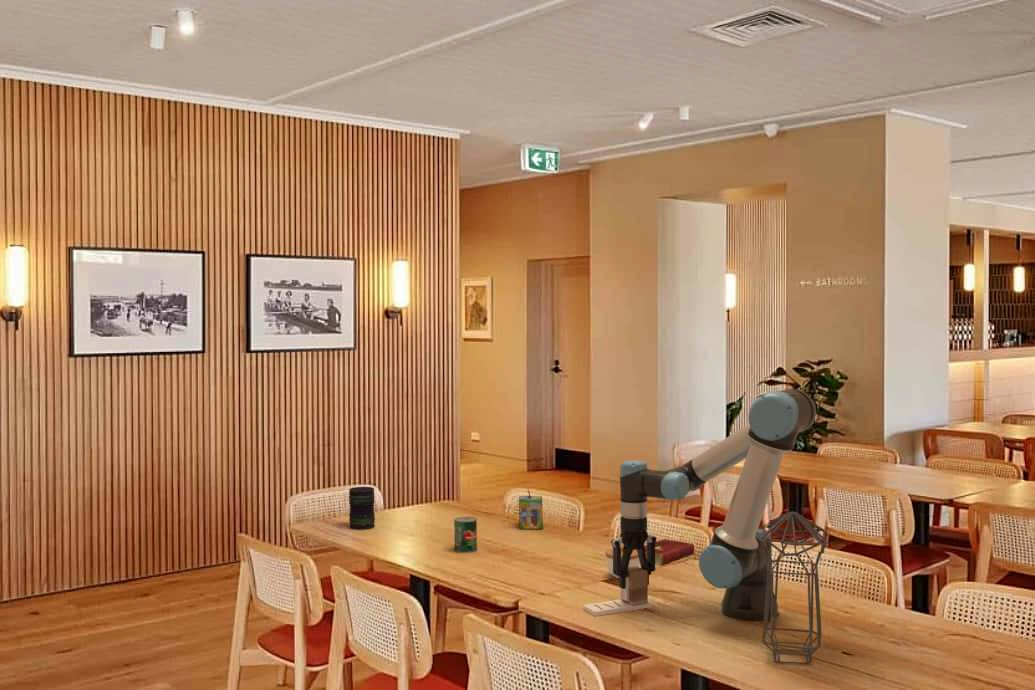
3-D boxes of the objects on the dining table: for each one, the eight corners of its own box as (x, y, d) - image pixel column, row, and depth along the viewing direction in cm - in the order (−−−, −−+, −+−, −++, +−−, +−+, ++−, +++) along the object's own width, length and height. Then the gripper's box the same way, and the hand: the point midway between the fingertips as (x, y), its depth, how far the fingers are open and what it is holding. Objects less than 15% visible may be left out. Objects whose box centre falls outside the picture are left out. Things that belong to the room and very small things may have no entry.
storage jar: (353, 524, 391) (353, 486, 391) (378, 524, 390) (377, 486, 390) (346, 529, 382) (345, 491, 381) (370, 530, 380) (370, 491, 380)
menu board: (651, 607, 277) (651, 603, 277) (594, 616, 270) (594, 611, 270) (638, 601, 283) (638, 596, 283) (583, 609, 276) (583, 604, 276)
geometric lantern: (760, 644, 246) (760, 504, 244) (827, 650, 241) (827, 507, 240) (756, 666, 231) (756, 516, 229) (827, 672, 226) (827, 520, 225)
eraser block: (647, 603, 277) (647, 571, 277) (632, 605, 275) (632, 573, 275) (636, 597, 282) (636, 566, 282) (621, 599, 280) (621, 568, 280)
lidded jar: (638, 582, 304) (638, 551, 303) (603, 580, 306) (603, 550, 305) (641, 573, 314) (641, 543, 314) (607, 571, 316) (607, 542, 316)
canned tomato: (472, 553, 341) (471, 522, 341) (451, 552, 344) (450, 520, 344) (480, 548, 349) (480, 517, 349) (459, 546, 352) (459, 516, 351)
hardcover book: (694, 555, 338) (694, 542, 338) (662, 567, 322) (661, 554, 322) (664, 549, 346) (664, 537, 346) (631, 561, 330) (630, 549, 330)
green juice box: (543, 529, 378) (542, 491, 378) (519, 529, 378) (518, 491, 378) (542, 524, 387) (542, 486, 387) (519, 524, 388) (518, 487, 387)
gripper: (654, 510, 285) (655, 591, 286) (598, 516, 278) (599, 599, 278) (668, 515, 278) (669, 597, 279) (612, 521, 271) (612, 606, 272)
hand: (634, 598), depth 279 cm, fingers closed on eraser block, 5 cm apart
